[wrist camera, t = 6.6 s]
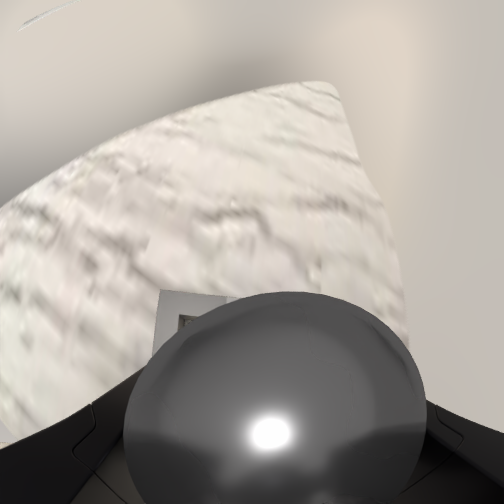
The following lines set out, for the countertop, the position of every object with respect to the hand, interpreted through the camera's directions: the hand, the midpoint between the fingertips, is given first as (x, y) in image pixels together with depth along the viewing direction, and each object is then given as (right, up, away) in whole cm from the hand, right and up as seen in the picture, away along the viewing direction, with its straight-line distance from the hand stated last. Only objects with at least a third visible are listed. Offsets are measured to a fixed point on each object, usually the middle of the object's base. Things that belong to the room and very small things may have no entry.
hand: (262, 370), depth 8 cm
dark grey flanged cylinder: (-1, -4, +6) cm, 7 cm away
